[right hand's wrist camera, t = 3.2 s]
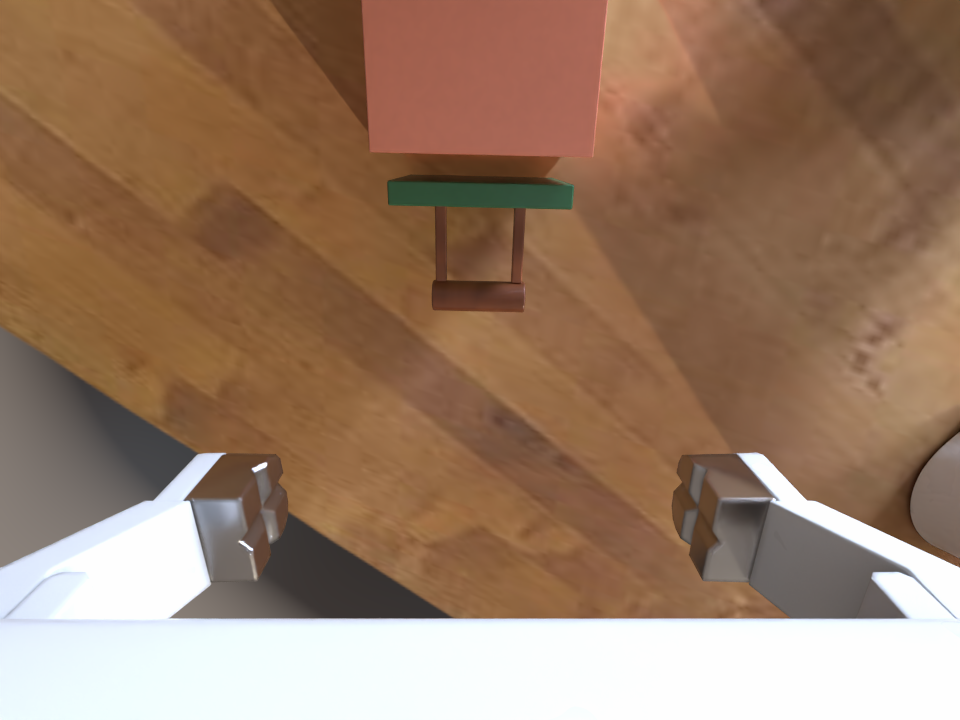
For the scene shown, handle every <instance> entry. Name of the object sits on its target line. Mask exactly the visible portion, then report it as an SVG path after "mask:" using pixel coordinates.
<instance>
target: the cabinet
mask: <svg viewBox="0 0 960 720" xmlns="http://www.w3.org/2000/svg"><path fill="white" fill-rule="evenodd" d="M361 4H362V22H363V41H364V59H365V78H366V96H367V114H368V133H369V151H370V152H380V153H422V154H465V155H509V156H552V157H593V150H594V140H595V129H596V119H597V108H598V98H599V88H600V77H601V67H602V56H603V46H604V36H605V25H606V15H607V4H608V0H361Z"/></svg>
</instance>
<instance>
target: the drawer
mask: <svg viewBox="0 0 960 720" xmlns="http://www.w3.org/2000/svg"><path fill="white" fill-rule="evenodd" d="M387 185H388V204H389V205H399V206H435V230H436V280H434V281H433V284H432V308H433V310H445V311H489V312H523V311H524V307H525V283H524V282H522V268H523V249H524V230H525V211H526V208H530V209H572V204H573V193H574V185H572V184H569V183H566V182H563V181H560V180H557V179H554V178H535V177H492V176H448V175H408V176H404V177H400V178H396V179H393V180H389V181H388V182H387ZM447 207H487V208H514V226H513V248H512V271H511V282H498V281H454V280H447Z"/></svg>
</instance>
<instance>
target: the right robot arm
mask: <svg viewBox="0 0 960 720" xmlns="http://www.w3.org/2000/svg"><path fill="white" fill-rule="evenodd" d="M282 474H283V469H282V464H281V460H280V458H279V457H278V456H277V455H276V454H242V453H228V454H226V453H203V454H198V455H196V457H195V458H194V459H193V460H192V461H191V462H190V463H189V464H188V465H187V466H186V467H185V468H184V469H183V470H182V471H181V472H180V473H179V474H178V475H177V476H176V477H175V479H174V480H173V481H172V482H171V483H170V484H169V485H168V486H167V487H166V488H165V489H164V490H163V491H162V492H161V493H160V494H159V495H158V496H157V497H156V499H154V501H144V502H142V503H139V504H137V505H135V506H133V507H131V508H129V509H126V510H124V511H122V512H120V513H118V514H116V515H113V516H111V517H109V518H107V519H105V520H103V521H100V522H98V523H96V524H94V525H92V526H90V527H87V528H85V529H83V530H81V531H79V532H77V533H74V534H72V535H70V536H68V537H66V538H64V539H62V540H59V541H57V542H55V543H53V544H51V545H48V546H46V547H44V548H42V549H40V550H38V551H35V552H33V553H31V554H29V555H27V556H25V557H22V558H20V559H18V560H16V561H14V562H12V563H9V564H7V565H5V566H3V567H1V568H0V720H960V568H959V567H957V566H955V565H952V564H950V563H948V562H946V561H944V560H942V559H939V558H937V557H935V556H933V555H931V554H929V553H926V552H924V551H922V550H920V549H918V548H916V547H914V546H911V545H909V544H907V543H905V542H903V541H901V540H898V539H896V538H894V537H892V536H890V535H888V534H885V533H883V532H881V531H879V530H877V529H875V528H872V527H870V526H868V525H866V524H864V523H862V522H860V521H857V520H855V519H853V518H851V517H849V516H847V515H844V514H842V513H840V512H838V511H836V510H834V509H831V508H829V507H827V506H825V505H823V504H821V503H818V502H816V501H807V500H806V499H805V498H804V497H803V496H802V495H801V494H800V493H799V492H798V491H797V490H796V489H795V488H794V487H793V486H792V485H791V484H790V483H789V482H788V481H787V479H786V478H785V477H784V476H783V475H782V474H781V473H780V472H779V471H778V470H777V469H776V468H775V467H774V466H773V465H772V464H771V463H770V462H769V461H768V460H767V458H766V457H765V456H764V455H761V454H759V453H735V454H702V455H682V456H681V458H680V460H679V463H678V469H677V474H678V476H679V477H680V479H681V481H682V483H681V484H680V485H679V486H678V487H677V488H676V489H675V490H674V492H673V500H672V514H673V521H674V524H675V528H676V530H677V532H678V534H679V536H680V538H681V539H682V540H684V541H685V542H687V543H688V544H690V545H691V547H690V552H689V556H690V558H691V559H692V561H693V563H694V565H695V567H696V569H697V571H698V573H699V574H700V576H701V578H702V580H703V581H721V582H749V585H750V586H752V587H753V588H754V589H755V590H757V591H758V592H759V593H760V594H762V595H763V596H764V597H765V598H767V599H768V600H769V601H770V602H772V603H773V604H774V605H775V606H776V607H778V608H779V609H780V610H781V611H783V612H784V613H785V614H786V615H788V616H789V617H790V618H791V619H169V618H170V617H171V616H172V615H174V614H175V613H176V612H177V611H179V610H180V609H181V608H182V607H184V606H185V605H186V604H187V603H189V602H190V601H191V600H192V599H194V598H195V597H196V596H197V595H199V594H200V593H201V592H202V591H204V590H205V589H206V588H207V587H209V586H210V585H211V582H238V581H257V580H258V578H259V576H260V574H261V573H262V571H263V569H264V567H265V565H266V563H267V561H268V559H269V557H270V556H271V553H270V547H269V545H270V544H272V543H273V542H275V541H276V540H278V539H279V538H280V536H281V534H282V532H283V530H284V528H285V524H286V520H287V515H288V498H287V492H286V490H285V489H284V488H283V487H282V486H281V485H280V484H279V483H278V481H279V479H280V477H281V476H282ZM910 513H911V518H912V522H913V524H914V526H915V528H916V530H917V532H918V533H919V534H920V535H921V537H922V538H923V539H924V540H926V541H927V542H928V543H930V544H931V545H933V546H935V547H937V548H939V549H941V550H943V551H946V552H948V553H950V554H952V555H954V556H956V557H957V558H959V559H960V432H959V433H957V434H956V435H955V436H954V437H953V438H952V439H950V440H949V441H948V442H947V443H946V444H945V445H944V446H942V447H941V448H940V449H939V450H938V451H937V452H936V453H935V454H934V456H933V457H932V458H931V459H930V460H929V461H928V463H927V464H926V465H925V467H924V468H923V470H922V471H921V473H920V475H919V477H918V479H917V481H916V483H915V486H914V488H913V492H912V496H911V502H910Z"/></svg>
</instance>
